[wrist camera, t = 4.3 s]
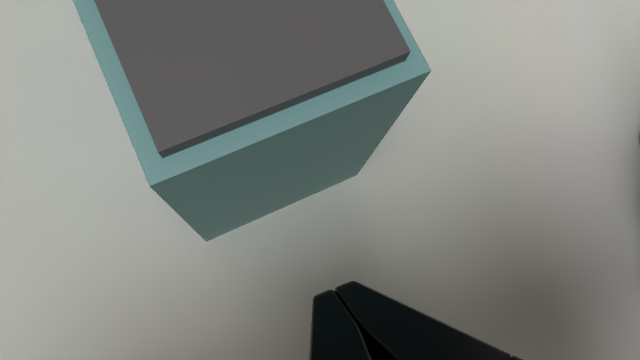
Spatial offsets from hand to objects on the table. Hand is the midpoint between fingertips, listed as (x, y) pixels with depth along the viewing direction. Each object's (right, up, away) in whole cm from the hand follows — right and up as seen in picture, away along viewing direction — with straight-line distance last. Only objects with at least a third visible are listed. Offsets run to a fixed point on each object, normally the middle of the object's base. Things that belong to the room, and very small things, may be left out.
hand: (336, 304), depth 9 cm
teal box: (-5, +8, +10) cm, 14 cm away
